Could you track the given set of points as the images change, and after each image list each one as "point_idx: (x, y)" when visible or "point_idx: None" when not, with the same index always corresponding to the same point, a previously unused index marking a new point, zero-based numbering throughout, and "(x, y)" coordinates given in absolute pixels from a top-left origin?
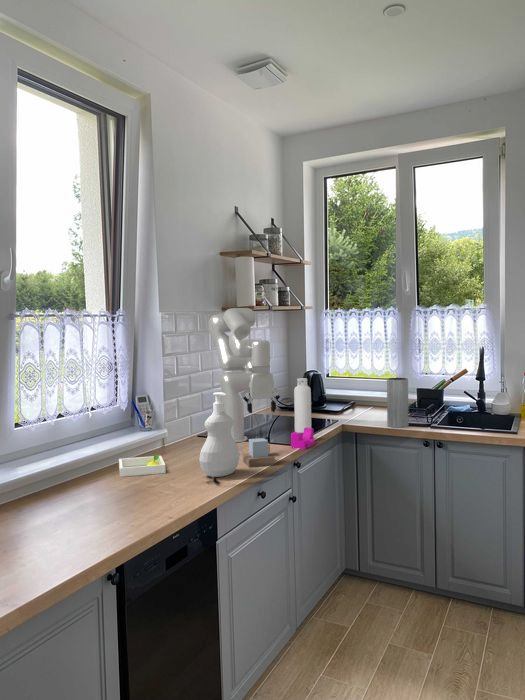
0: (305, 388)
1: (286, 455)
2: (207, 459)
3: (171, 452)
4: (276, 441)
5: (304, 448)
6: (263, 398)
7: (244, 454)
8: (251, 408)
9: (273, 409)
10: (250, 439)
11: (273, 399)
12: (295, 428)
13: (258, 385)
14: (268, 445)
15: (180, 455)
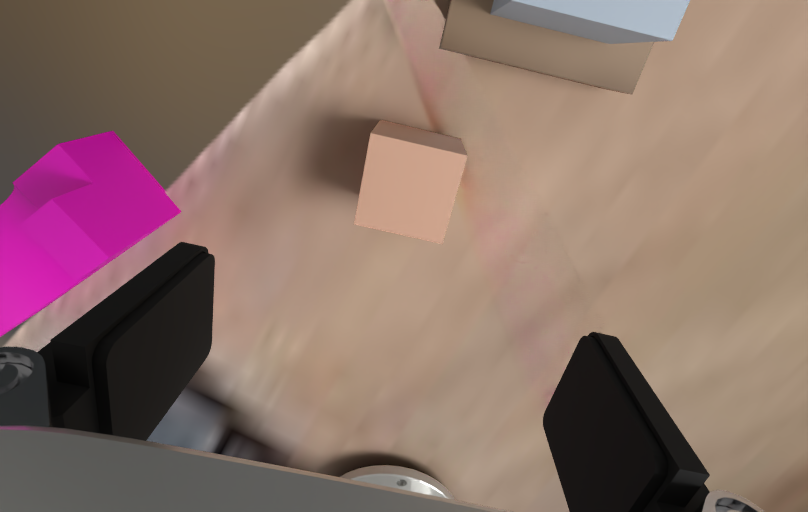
0: None
1: (266, 89)
2: None
3: (755, 481)
4: (186, 426)
5: (95, 135)
6: (380, 487)
7: (636, 65)
8: (631, 383)
9: (187, 268)
10: (671, 12)
11: (15, 421)
12: None
13: None
14: (383, 134)
15: (772, 413)
